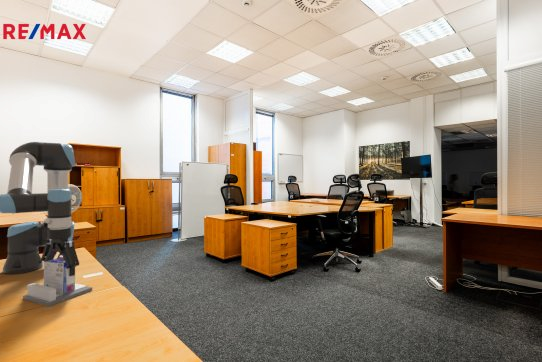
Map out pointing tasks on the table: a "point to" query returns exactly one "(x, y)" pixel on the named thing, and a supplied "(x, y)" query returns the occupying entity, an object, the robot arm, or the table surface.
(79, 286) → the dock board
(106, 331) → the table surface
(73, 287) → the ink cartridge box
